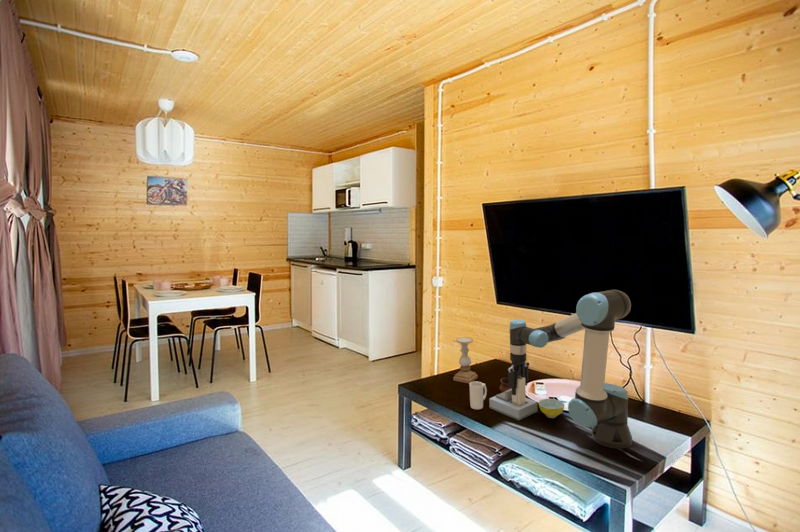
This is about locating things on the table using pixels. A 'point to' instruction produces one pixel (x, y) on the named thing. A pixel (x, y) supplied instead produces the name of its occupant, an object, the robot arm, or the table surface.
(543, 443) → the table surface
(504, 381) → the ceramic pot
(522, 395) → the beige square bottle
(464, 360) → the candle holder
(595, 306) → the robot arm
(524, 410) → the socket
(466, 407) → the table surface
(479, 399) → the mug
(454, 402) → the table surface
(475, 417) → the table surface
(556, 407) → the bowl
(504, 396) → the grey wedge block
